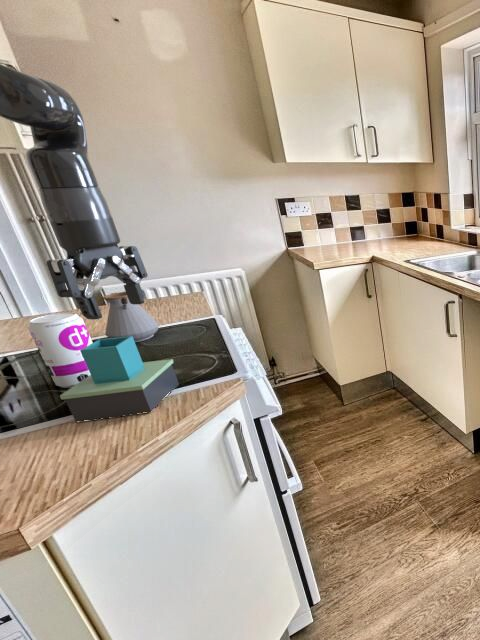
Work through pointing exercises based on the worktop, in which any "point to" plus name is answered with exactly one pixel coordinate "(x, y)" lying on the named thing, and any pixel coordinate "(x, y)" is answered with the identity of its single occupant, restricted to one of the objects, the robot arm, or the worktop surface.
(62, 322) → the supplement can
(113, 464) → the worktop surface
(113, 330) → the coffee pot
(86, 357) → the teal container
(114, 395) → the green and grey box
